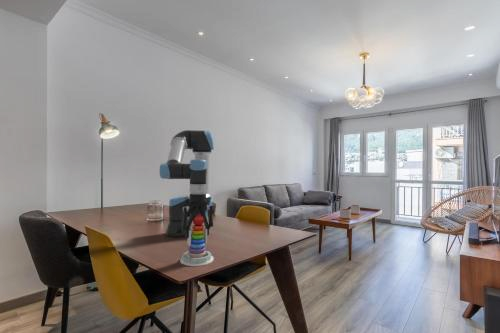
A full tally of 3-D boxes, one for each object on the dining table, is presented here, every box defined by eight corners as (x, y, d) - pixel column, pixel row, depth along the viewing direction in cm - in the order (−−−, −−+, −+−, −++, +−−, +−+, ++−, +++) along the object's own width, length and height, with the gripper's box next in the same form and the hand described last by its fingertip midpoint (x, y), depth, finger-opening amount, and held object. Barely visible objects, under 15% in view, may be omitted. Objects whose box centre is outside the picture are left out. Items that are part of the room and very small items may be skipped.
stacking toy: (192, 259, 115) (192, 216, 115) (185, 254, 122) (185, 214, 122) (208, 256, 120) (209, 215, 120) (201, 251, 126) (201, 212, 126)
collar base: (172, 261, 118) (172, 256, 118) (195, 252, 131) (195, 247, 131) (198, 268, 110) (198, 262, 110) (220, 258, 123) (220, 252, 123)
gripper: (178, 195, 112) (177, 249, 112) (221, 193, 122) (220, 242, 122) (173, 193, 119) (173, 244, 119) (215, 191, 129) (214, 238, 129)
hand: (197, 243), depth 121 cm, fingers closed on stacking toy, 7 cm apart
